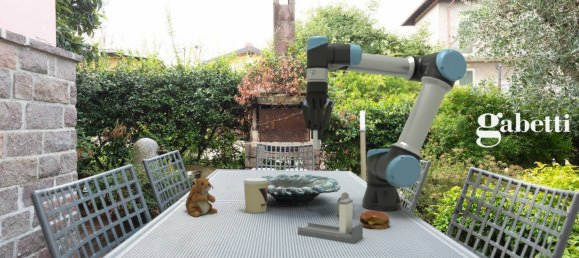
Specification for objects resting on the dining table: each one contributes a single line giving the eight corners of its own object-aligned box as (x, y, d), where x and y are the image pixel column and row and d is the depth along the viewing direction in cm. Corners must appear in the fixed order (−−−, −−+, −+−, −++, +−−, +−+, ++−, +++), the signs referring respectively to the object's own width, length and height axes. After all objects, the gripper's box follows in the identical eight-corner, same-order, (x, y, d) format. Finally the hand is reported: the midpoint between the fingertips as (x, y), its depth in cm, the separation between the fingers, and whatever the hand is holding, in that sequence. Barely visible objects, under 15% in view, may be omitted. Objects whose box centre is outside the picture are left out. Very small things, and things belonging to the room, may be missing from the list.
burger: (382, 222, 144) (382, 208, 144) (394, 229, 135) (394, 214, 135) (354, 223, 143) (355, 209, 142) (364, 230, 133) (365, 216, 133)
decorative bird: (334, 221, 145) (334, 199, 145) (337, 211, 161) (338, 192, 161) (350, 222, 144) (350, 200, 144) (352, 212, 160) (352, 192, 160)
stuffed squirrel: (196, 218, 148) (196, 180, 148) (177, 211, 159) (177, 176, 159) (220, 213, 155) (220, 178, 155) (200, 207, 166) (200, 174, 165)
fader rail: (297, 234, 128) (297, 219, 128) (308, 229, 134) (308, 215, 134) (353, 243, 119) (353, 227, 119) (362, 237, 125) (362, 222, 125)
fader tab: (338, 234, 122) (339, 201, 122) (345, 230, 127) (346, 198, 126) (345, 236, 121) (346, 202, 121) (352, 231, 125) (353, 199, 125)
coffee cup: (264, 214, 155) (264, 181, 155) (240, 212, 157) (240, 180, 156) (271, 208, 164) (271, 177, 164) (247, 207, 166) (247, 177, 166)
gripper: (295, 81, 148) (295, 148, 148) (329, 79, 141) (328, 150, 142) (305, 83, 154) (305, 147, 155) (338, 81, 147) (338, 149, 148)
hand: (316, 148), depth 148 cm, fingers closed
